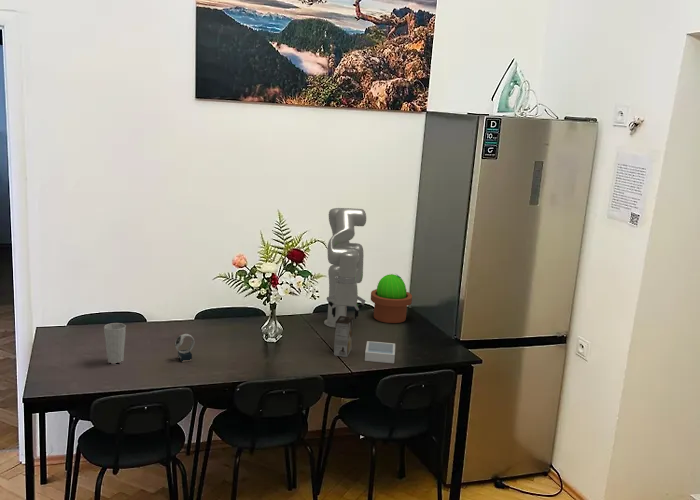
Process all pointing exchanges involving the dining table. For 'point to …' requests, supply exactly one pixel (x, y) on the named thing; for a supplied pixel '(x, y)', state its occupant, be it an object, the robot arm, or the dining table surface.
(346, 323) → the coffee box
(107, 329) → the cup
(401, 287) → the potted cactus
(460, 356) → the dining table surface
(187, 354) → the watch
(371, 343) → the shallow grey tray
